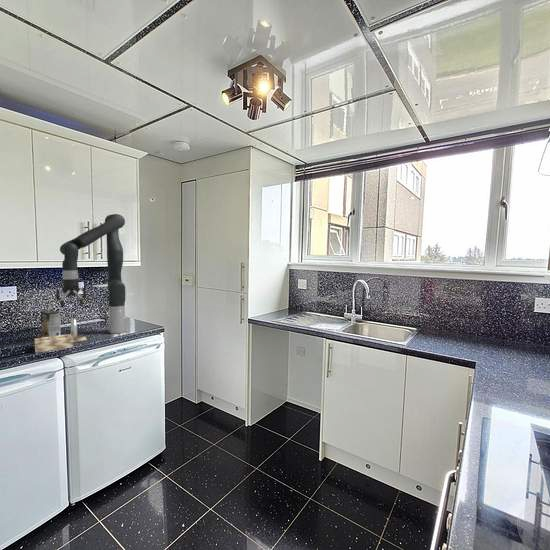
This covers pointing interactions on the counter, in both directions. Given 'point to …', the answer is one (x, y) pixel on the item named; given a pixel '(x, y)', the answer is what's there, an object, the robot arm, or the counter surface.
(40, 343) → the hole block
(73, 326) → the peg
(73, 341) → the mat
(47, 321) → the coffee box
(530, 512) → the counter surface
